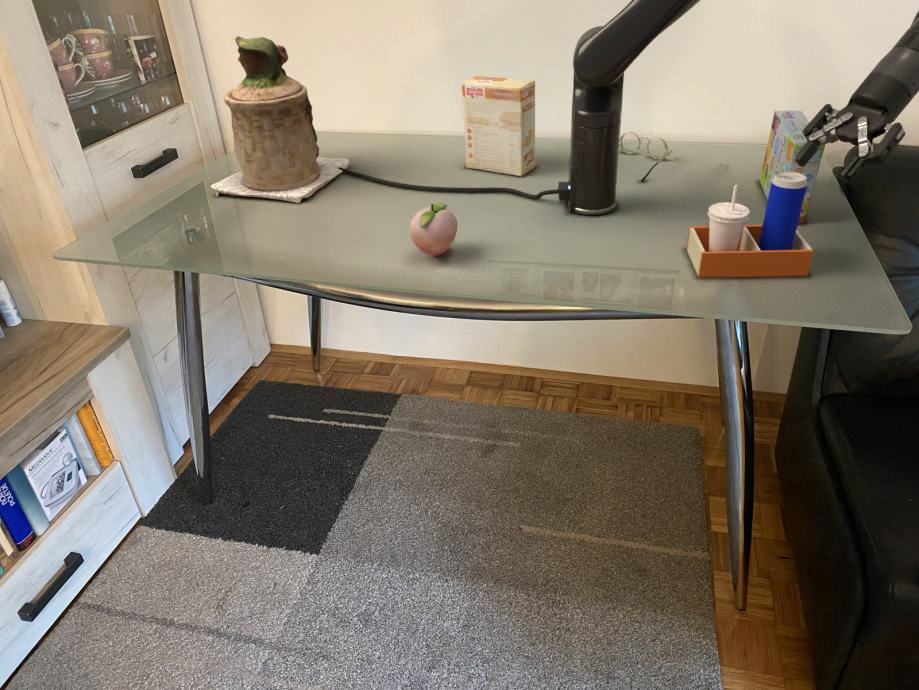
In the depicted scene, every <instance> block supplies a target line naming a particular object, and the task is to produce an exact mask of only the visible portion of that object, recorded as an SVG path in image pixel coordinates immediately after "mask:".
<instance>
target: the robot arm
mask: <svg viewBox="0 0 919 690" xmlns="http://www.w3.org/2000/svg"><path fill="white" fill-rule="evenodd" d="M701 1H702V0H630V1H629V3H628V4H626V5H625V6H624V8H622V9H621V10H620V11H619V12H618V13H617V14H616V15H614V16H613V18H611V19H610V20H608V22H606V23H605V24H604V25H598V26H595V27H594V26H593V27H591V28H590V29H588V30H586V31H585V32H584V33H583V34H581V36H580V37H579V38H578V40H577V42H576V44H575V47H574V51H573V55H572V70H573V79H572V80H573V82H572V83H573V84H572V98H571V99H572V100H571V118H570V119H571V125H570V152H569V153H570V154H569V158H568V181H558V183H557V184H558V185H557V187H558V188H556V189H547V190H543V191H539V193H537V194H532V193H531V194H530V193H526V192H525V191H521V190H518V189H515V188H510V187H496V186H495V187H455V186H454V187H453V186H452V187H449V186H430V185H417V184H410V183H403V182H402V183H401V182H396V181H392V180H387V179H384V178H378V177H375V176H371V175H367V174H365V173H362V172H358V171H354V170H351V169H348V168H347V169H344V168H341V167H339V168H338V169H340V170H342V171H343V172H342V173H345V174H348V175H352V176H354V177H358V178H362V179H366V180H369V181H372V182H375V183H379V184H383V185H387V186H391V187H396V188H397V187H398V188H404V189H411V190H417V191H418V190H419V191H428V192H430V191H431V192H432V191H433V192H447V193H449V192H450V193H451V192H452V193H495V192H496V193H509V194H514V195H517V196H520V197H523V198H526V199H530V200H540V199H541V198H542V197H543V196H547V195H558V201H559V202H567V207H568V212H569V213H570V214H573V213H574V214H578V215H579V214H580V215H584V216H600V215H606V214H609V213H611V212H613V210H615V208H616V202H617V201H616V199H617V196H616V195H617V194H616V193H617V184H618V183H617V180H618V168H619V154H620V143H621V141H620V138H621V128H622V127H621V126H622V112H623V100H624V99H623V97H624V96H623V95H624V81H625V72H626V70H627V69H628V68H629V67H630V66H631V65H632V64H633V62H635V60H636V59H637V58H638V57H639V56H640V55H641V54H642V53H643V52H644V51H645V50H646V48H647V47H649V45H650V44H651V43H652V42H654V41H655V40H656V38H658V36H660V35H661V34H662V33H663V32H664V31H666V30H667V29H668V28H669V27H671V26H672V25H673V24H674V23H676V22H677V21H679V20H680V19H681V18H682V17H683V16H685V15H686V14H687V13H688V12H689V11H690V10H691V9H693V8H694V7H695V6H696V5H697V4H698V3H699V2H701ZM918 93H919V10H918V11H917V12H916V14H915V16H914V17H913V20H912V22H911V24H910V26H909V28H908V29H907V30H906V31H905V32H904V34H903V35H901V37H900V38H899V39H898V41H897V42H896V43H895V44H894V45H893V46H892V48H891V49H890V51H888V52H887V53H886V54H885V55H884V56H883V57H882V58H881V59H880V60H879V61H878V62H877V64H875V66H874V67H873V68H872V70H871V71H870V72H869V74H868V75H867V76H866V77H865V78H864V79H863V81H862V82H861V83H860V85H859V86H858V87H857V88H856V90H855V91H854V92H853V93H852V94H851V96H850V97H849V100H848V102H847V104H846V105H845V106H844V107H843V108H841V109H840V110H839V109H836V108H834V107H833V106H832V104H831V103H827V104H825V105H824V106H823V107H822V108H821V109H820V110H819V111H818V112H817V113H816V114H815V116H814V117H813V118H812V119H811V120H810V121H809V124H808V125H807V126H806V127H805V128H804V129H803V131H802V133H803V135H804V136H805V138H806V139H807V142H806V144H805V145H804V146H803V147H802V149H801V150H800V151H799V152H798V154H797V155H796V162H797V164H798V165H799V166H801V167H804V166H805V165H806V164H807V163H808V161H809V160H810V159H811V158H812V157H813V155H814V154H815V153H816V152H817V150H818V148H819V147H821V146H823V145H825V146H826V145H827V144H833V143H837V142H838V141H840V142H842V143H849V144H851V145H852V146H855V147H858V156H857V155H854V157H853V158H852V159H851V160H850V162H849V163H848V164H847V165H846V166H845V167H844V169H843V170H842V171H841V172H840V174H839V178H840V180H841V182H842V183H845V184H849V183H850V182H851V181H854V180H855V179H857V177H858V176H859V175H860V174H861V173H862V171H863V170H864V169H865V167H866V166H868V165H870V164H876V165H878V166H881V165H883V164H885V163H886V161H887V160H888V158H890V156H891V155H892V153H893V152H894V151H895V149H896V148H897V147H898V146H899V145H900V143H901V141H902V140H903V139H904V137H905V136H906V132H905V129H904V127H903V125H902V123H901V122H899V121H898V122H895V121H896V119H898V117H899V116H900V114H901V113H902V112H903V111H904V110H905V109H906V108H907V106H908V105H909V104H910V102H911V101H912V100H913V99H914V98H915V97H916V95H917V94H918ZM892 123H893V124H892ZM813 129H814V130H813ZM812 130H813V131H812ZM832 131H834V133H832ZM882 135H884V136H883V138H882V139H881V140H880V141H879V142H878V144H877V145H876V147H875V148H874V139H876V138H878V137H880V136H882ZM819 138H821V139H819Z"/></svg>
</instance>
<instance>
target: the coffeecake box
mask: <svg viewBox="0 0 919 690" xmlns="http://www.w3.org/2000/svg"><path fill="white" fill-rule="evenodd" d="M461 92H462V111H463V126H464V127H463V128H464V129H463V130H464V141H465V142H464V144H465V145H464V147H465V148H464V149H465V164H466V165H465V166H466V169H472V170H473V169H474V170H480V171H485V172H493V173H498V174H503V175H511V176H517V177H524V176H525V175H526V174H528V172H530V171H532V170H533V169H534V168H535V167H536V80H534V79H520V78H519V79H518V78H508V77H507V78H506V77H495V76H482V75H476V76H474V77H471V78H470V79H467V80H465V81H462V82H461Z"/></svg>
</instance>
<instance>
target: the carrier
mask: <svg viewBox="0 0 919 690" xmlns="http://www.w3.org/2000/svg"><path fill="white" fill-rule="evenodd" d="M762 226H763V224H745V225H744V229H743V231H742V234H741V237H740V240H739V243H738V246H737V249H736V251H716V252H709V225H697V226H696V225H693V226H689V230H688V236H687V244H686V249H685V250H686V252H687V255H688V256H689V259H690V261H691V264H692V265H693V268H694V270H695V272H696V275H697V277H698V279H699V278H702V279H704V278H757V277H758V278H760V277H765V278H766V277H807V276H809V275H808V274H809V270H810V267H811V263H812V260H813V259H812V258H813V255H814V250H813V248H812V247H811V245H810V244H809V243H808V242H807V241H806V239H805V237H803V236H802V234H801V233H800V231H799V230H798V229H797V230H796V234H795V238H794V242H793V246H792V250H766V251H761V250H760V248H759V247H758V245H759V240H760V235H761V230H762Z"/></svg>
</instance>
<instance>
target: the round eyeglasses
mask: <svg viewBox="0 0 919 690" xmlns="http://www.w3.org/2000/svg"><path fill="white" fill-rule="evenodd" d="M628 134H631V135H634V136H635V137H636V138H637V141H638V142H639V143H638V146H637V147H636V148H637V149H636V150H635V151H634V152H631V151H628V150H627V149H626V148H625V147H624V144H623V138H624V137H625V135H628ZM641 139H642V140H643V139H644V140H647V143H646V150H647V153H648V155H649V156H650V157H651V158H653V159H654V160H658V161H657V162H655V164H653V166H651V168H650V169H649V171H647V173H646V174H645V175H644V176H643V177H642V178H641V180H640V182H644V181H645V180H646V179H647V177H648V176H649V175H650V174H651V172H652V171H653V169H654V168H655V167H656V166H657V165H659V164H660V163H661V162H662V161H663V160H664V159H666V158H667V157H668V156H669V155H670V154H671V153H672V152H673V148H669V147H668V142H666V140H665V139H664V138H663V137H660V136H654V137H652V138H651V139H649V138H648V137H643V136H640V137H639V135H638V134H637V133H635V132H632V131H628V132H626V133H623V134H622V135H621V136H620V143H619V149H620V151H622V152H624V153H625V154H629V155H632V154H635V153H637V152H638V151H639V150H640V148H641V144H642V141H641ZM652 139H658V140H660V141H661V142H662V144H663V147H664V149H665V152H664V153H663V155H662V156H661V157H656V156H654V155H653V154H652V153H651V152H650V149H649V145H650V142H651V141H652Z"/></svg>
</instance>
